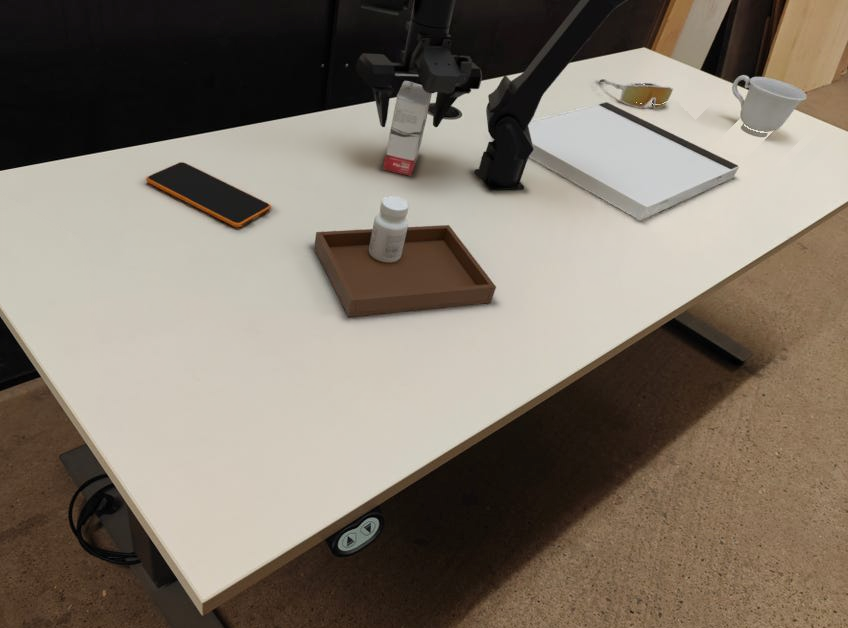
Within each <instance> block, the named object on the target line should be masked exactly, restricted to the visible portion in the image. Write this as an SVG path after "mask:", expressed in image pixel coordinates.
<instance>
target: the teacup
mask: <svg viewBox="0 0 848 628" xmlns="http://www.w3.org/2000/svg"><path fill="white" fill-rule="evenodd" d="M741 81H744V83H745V84H744V89H748V90H747V94H746V96H745V98H744V97H743V96H742V95H741V93H740V92H739V90H738V84H739V82H741ZM731 91H732V94H733V96H734V97H735V98H736V99H737V100H738V101H739V103H740V111H739V112H740V113H739V117H740V120H741V122H742V123H743V124H742V125H741V126H740V130H741V131H743V132H744V133H745V134H747V135H750V136H752V137H758V138H766V137H767V136H768V133H769V132H770V133H771V132H774V131H777V130H779V129H780V128H781V127H782V126H783V125H784V124H785V123H786V121H787V120H788V119H789V117H790V116H791V115H792V113H793V112H794V110H796V109H797V107H798V106H799V105H800V103H801V102H803V101H804V100H806V99H807V98H808V96H807V94H806V92H805V91H803V90H802V89H800V88H798V87H796V86H794V85H792V84H790V83H787V82H784V81H782V80H778V79H775V78H771V77H766V76H753V77H751V78H750V77H749V76H748V75H746V74H742V75H739V76H737V77H736V78H735V80H734V81H733V83H732V85H731ZM744 124H745V125H746V126H748V127H749V128H751V129H754V130H758V131H764V132H768V133H760V132H756V131H753V130H750V129H748V128H747V127H745V126H744Z"/></svg>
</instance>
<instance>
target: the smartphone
mask: <svg viewBox="0 0 848 628" xmlns="http://www.w3.org/2000/svg"><path fill="white" fill-rule="evenodd" d="M145 180H146V182H147V183H148V184H149V185H151V186H154V187H156V188H158V189H160V190H162V191H163V192H165V193H167V194H169V195H171V196H173V197H175V198H178V199H179V200H181V201H183V202H185V203H187V204H189V205H191V206H193V207H195V208H197V209H199V210H201V211H203V212H205V213H207V214H209V215H210V216H213V217H214V218H216V219H218V220H220V221H223V222H224V223H226V224H228V225H229V226H232V227H233V228H242V227H243V226H245V225H246V224H248V223H250V222H251V221H253V220H255V219H257V218H258V217H260V216H262V215H263V214H265V213H267V212H269V211H270V210H271V209H272V206H271V204H270V203H268V202H266V201H264V200H262V199H260V198H258V197H256V196H254V195H251V194H250V193H247V192H246V191H243V190H242V189H240V188H237V187H235V186H233V185H231V184H229V183H227V182H225V181H223V180H221V179H220V178H217V177H215V176H213V175H211V174H209V173H207V172H205V171H203V170H201V169H199V168H196V167H195V166H193V165H191V164H188V163H187V162H184V161H180V162H178V163H175V164H173V165H170V166H168V167H166V168H164V169H162V170H159V171H156V172H154V173H152V174H150V175H148V176H146V178H145Z"/></svg>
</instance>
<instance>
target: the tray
mask: <svg viewBox="0 0 848 628" xmlns="http://www.w3.org/2000/svg"><path fill="white" fill-rule="evenodd" d="M372 229H373V228H367V229H350V230H349V229H348V230H347V229H346V230H329V231H327V230H326V231H316V232H315V238H314V247H313V249H314V250H315V253H316V255H317V257H318V259H319V261H320V263H321V265H322V267H323V268H324V271H325V273H326V275H327V277H328V279H329V281H330V283H331V285H332V287H333V289H334V292H335V293H336V295H337V297H338V299H339V301H340V303H341V306H342V307H343V310H344V311H345V313H346V315H347V317H348V318H352V317H361V316H372V315H381V314H382V315H383V314H390V313H391V314H392V313H401V312H411V311H420V310H430V309H440V308H442V309H443V308H450V307H459V306H460V307H462V306H469V305H470V306H471V305H480V304H488V303H489V304H490V303H492V301H493V297H494V295H495V292H496V289H497V285H495V283H494V282H493V281H492V280H491V278H490V277H489V276H488V274H487V272H486V271H485V270H484V269H483V268H482V267H481V265H480V263H478V261H477V260H476V258H475V257H474V256H473V255H472V253H471V251H470V250H469V249H468V248H467V246H466V245H465V244H464V243H463V241H462V240H461V238H459V236H458V234H456V232H455V231H454V229H452V227H451V226H450V225H449V224H443V225H423V226H408V228H407V233H406V237H405V241H404V246H403V250H402V254H401V257H400V259H399V260H397V261H396V262H392V263H385V262H380V261H378V260H376V259H374V258H373V257H372V256H371V255H370V253H369V245H370V240H371V235H372Z"/></svg>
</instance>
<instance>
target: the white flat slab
mask: <svg viewBox="0 0 848 628" xmlns="http://www.w3.org/2000/svg"><path fill="white" fill-rule="evenodd" d="M528 127H529V131H530V136H531V140H532V145H533V152H532V153H531V154H530V155H529V157H528V159H531V160H533V161H535V162H537V164H540V165H542V166H543V167H545V168H547V169H549V170H550V171H552V172H554V173H556V174H557V175H559V176H561V177H563V178H565V179H566V180H568V181H569V182H570V183H571V182H572V183H573V184H575V185H576V186H578V187H580V188H582V189H584V190H586V191H587V192H589V193H591V194H592V195H594V196H596V197H598V198H599V199H602V200H603V201H605V202H606V203H608V204H610V205H612V206H613V207H616V208H617V209H619V210H620V211H622V212H624V213H626V214H628V215H629V216H631V217H633V218H635V219H637V220H638V221H640V222H641V221H644V220H646V219H647V218H649V217H652V216H654V215H656V214H658V213H660V212H662V211H664V210H667V209H669V208H671V207H673V206H675V205H678V204H680V203H682V202H684V201H686V200H688V199H690V198H693V197H695V196H697V195H699V194H701V193H704V192H706V191H708V190H711V189H712V188H714V187H716V186H719V185H721V184H723V183H724V182H727V181H729V180H731V179H733V178H734V177H735V175H736V174H737V172H738V170H739V169H740V166H739V165H738V164H736V163H734V162H732V161H730V160H728V159H725V158H723V157H722V156H720V155H718V154H716V153H714V152H711V151H709V150H707V149H705V148H703V147H701V146H699V145H696V144H695V143H693V142H691V141H689V140H686V139H684V138H682V137H680V136H678V135H675V134H674V133H671V132H670V131H668V130H666V129H663V128H662V127H659V126H657V125H655V124H653V123H651V122H649V121H647V120H645V119H642V118H640V117H639V116H636V115H635V114H632V113H630V112H628V111H626V110H624V109H622V108H620V107H617V106H615V105H614V104H612V103H610V102H605V101H604V102H601V103H597V104H591V105H589V106H584V107H579V108H575V109H572V110H567V111H564V112H559V113H556V114H551V115H547V116H543V117H539V118H533V119H532V120H531V121H530V123H529V125H528Z"/></svg>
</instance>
